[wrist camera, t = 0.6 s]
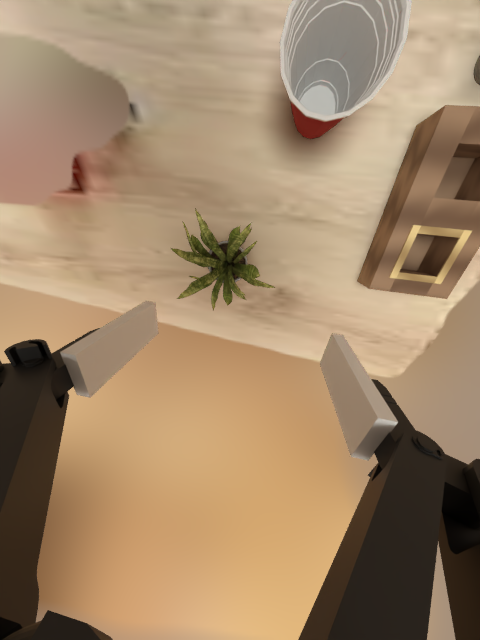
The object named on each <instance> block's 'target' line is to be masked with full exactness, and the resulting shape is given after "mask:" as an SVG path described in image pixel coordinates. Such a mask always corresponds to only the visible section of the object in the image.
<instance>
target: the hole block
mask: <svg viewBox="0 0 480 640" xmlns="http://www.w3.org/2000/svg"><path fill="white" fill-rule="evenodd" d="M479 247H480V107H477V106H453V105H445V106H444V107H442V108H441V109H440V110H438V111H437V112H435V113H434V114H433V115H431V116H430V117H428V118H427V119H425V120H424V121H423V122H421V123H420V124H418V125H417V126H416V129H415V131H414V134H413V137H412V139H411V142H410V145H409V147H408V150H407V152H406V155H405V158H404V160H403V163H402V165H401V168H400V171H399V173H398V176H397V179H396V181H395V184H394V186H393V189H392V192H391V194H390V197H389V200H388V202H387V205H386V207H385V210H384V213H383V215H382V218H381V221H380V223H379V226H378V228H377V231H376V234H375V236H374V239H373V241H372V244H371V247H370V249H369V252H368V255H367V257H366V260H365V262H364V265H363V268H362V270H361V273H360V276H359V278H358V282H360V283H361V284H363V285H364V286H366V287H367V288H369V289H376V290H383V291H391V292H399V293H406V294H414V295H421V296H429V297H437V298H444V299H447V298H448V296H449V295H450V293H451V292H452V290H453V288H454V287H455V285H456V284H457V282H458V280H459V279H460V277H461V276H462V274H463V272H464V271H465V269H466V268H467V266H468V264H469V263H470V261H471V260H472V258H473V257H474V255H475V253H476V252H477V250H478V249H479Z"/></svg>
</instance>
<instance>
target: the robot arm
mask: <svg viewBox="0 0 480 640" xmlns="http://www.w3.org/2000/svg"><path fill="white" fill-rule="evenodd" d="M157 334H158V324H157V313H156V303H155V302H150V301H145V302H143V303H142V304H140V305H138V306H137V307H135V308H133V309H132V310H130V311H128V312H126V313H125V314H123V315H121V316H120V317H118V318H116V319H115V320H113V321H111V322H110V323H108V324H106V325H105V326H103V327H101V328H98V329H95V330H93V331H90V332H89V333H87V334H85V335H83V336H82V337H80V338H78V339H76V340H75V341H73V342H71V343H69V344H67V345H66V346H64V347H62V348H61V349H59V350H57V351H56V352H54V353H52V354H51V352H50V350H49V347H48V345H47V343H46V341H44V340H39V339H38V340H37V339H36V340H28V341H23V342H20V343H17V344H14V345H12V346H11V347H9V348H7V349H6V350H5V351H4V352H5V354H6V355H7V357H8V359H9V360H10V362H11V363H9V364H2V363H1V361H0V640H112V638H111V637H110V636H108V635H106V634H105V633H103V632H101V631H99V630H98V629H96V628H94V627H92V626H91V625H89V624H87V623H84V622H81V621H78V620H75V619H72V618H69V617H66V616H63V615H60V614H57V613H54V612H51V611H49V610H48V611H47V613H46V614H45V616H44V618H43V619H42V621H39V622H37V623H35V622H36V616H37V610H38V601H39V588H38V582H37V565H38V559H39V554H40V548H41V543H42V537H43V532H44V526H45V522H46V516H47V511H48V505H49V500H50V495H51V490H52V484H53V479H54V474H55V468H56V463H57V458H58V452H59V447H60V442H61V436H62V431H63V426H64V420H65V415H66V410H67V404H68V399H69V394H68V392H67V391H68V390H70V389H71V388H72V387H73V386H74V389H75V391H76V394H77V395H81V396H85V397H91V396H92V395H94V394H95V393H96V392H97V391H98V390H99V389H100V388H101V387H102V386H103V385H104V384H105V383H106V382H107V381H108V380H109V379H111V377H113V376H114V375H115V373H117V372H118V371H119V370H120V369H121V368H122V367H123V366H124V365H125V364H126V363H127V362H128V361H130V360H131V359H132V358H133V357H134V356H135V355H136V354H137V353H138V352H139V351H140V350H141V349H142V348H143V347H144V346H145V345H146V344H148V343H149V342H150V341H151V340H152V339H153V338H154V337H155V336H156V335H157ZM320 365H321V369H322V372H323V375H324V378H325V380H326V383H327V386H328V389H329V392H330V395H331V398H332V401H333V404H334V407H335V410H336V413H337V416H338V419H339V422H340V425H341V428H342V431H343V434H344V437H345V440H346V443H347V446H348V449H349V452H350V455H351V457H355V458H360V459H364V460H369V459H370V457H371V456H372V455H373V454H374V453H375V455H376V457H377V460H378V464H377V465H376V466H375V467H374V468H373V470H372V471H371V472H370V473H369V474H368V476H369V477H370V479H369V482H368V484H367V486H366V488H365V491H364V493H363V495H362V497H361V500H360V502H359V504H358V506H357V509H356V511H355V513H354V515H353V518H352V520H351V522H350V524H349V527H348V529H347V531H346V533H345V536H344V538H343V540H342V542H341V545H340V547H339V549H338V551H337V554H336V556H335V558H334V560H333V563H332V565H331V567H330V569H329V572H328V574H327V576H326V578H325V581H324V583H323V585H322V587H321V590H320V592H319V595H318V597H317V599H316V601H315V603H314V606H313V608H312V610H311V612H310V614H309V617H308V619H307V621H306V624H305V626H304V628H303V630H302V633H301V635H300V637H299V640H427V633H428V624H429V615H430V607H431V597H432V589H433V580H434V571H435V563H436V554H437V545H438V541H439V547H440V553H441V558H442V564H443V570H444V576H445V581H446V586H447V593H448V598H449V604H450V610H451V615H452V621H453V627H454V632H455V638H456V640H480V459H476V460H474V461H472V462H471V463H470V464H469V465H468V464H466V463H464V462H461V461H459V460H457V459H455V458H453V457H450V456H448V455H446V454H445V453H444V452H443V450H442V449H441V448H440V447H439V446H438V444H437V443H436V442H435V441H433V440H432V439H431V438H429V437H428V436H426V435H425V434H423V433H421V432H419V431H416V430H415V429H414V427H413V426H412V425H411V423H410V422H409V420H408V419H407V417H406V416H405V415H404V413H403V411H402V410H401V409H400V407H399V406H398V405H397V403H396V401H395V400H394V399H393V398H392V396H391V394H390V393H389V391H388V390H387V388H386V387H384V386H383V385H382V384H381V383H380V382H379V381H378V380H373V379H371V378H370V377H369V375H368V374H367V372H366V370H365V369H364V367H363V366H362V364H361V363H360V361H359V359H358V358H357V356H356V355H355V353H354V352H353V350H352V348H351V347H350V345H349V344H348V342H347V340H346V339H345V337H344V336H343V335H340V334H334V333H332V334H331V337H330V339H329V342H328V344H327V347H326V349H325V352H324V354H323V357H322V359H321V362H320Z"/></svg>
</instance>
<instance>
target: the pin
mask: <svg viewBox="0 0 480 640" xmlns="http://www.w3.org/2000/svg"><path fill="white" fill-rule="evenodd" d="M474 78H475V81H476V82H477V83H478V84H480V56H479V58H478V60H477V62H476V65H475V69H474Z"/></svg>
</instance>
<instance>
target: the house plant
mask: <svg viewBox="0 0 480 640" xmlns="http://www.w3.org/2000/svg"><path fill="white" fill-rule="evenodd" d="M195 211H196V208H195ZM196 215H197V218H198V222H199V226H200V230H201V239H202V241H203V243H204V244H205V245H206V246H207V247H208V248H209V249H210V251H209V253H208V252H207V250H206V249H205V248H204V247H203V246H202V244H201V243H200V241H199V240H198V239H197V238H196V237H195V236H193V235H191V238H190V235H189V233H188V230H187V228H186V226H185V224H184V222H183V224H184V227H185V230H186V233H187V237H188V241H189V244H190V246H191V249H192V251H193V252H185V251H182V250H179V249H172V248H171V247H170V248H171V249H172V250H173V251H174V252H175V253H176V254H177V255H179V256H180V257H182V258H183V259H185V260H187V261H190V262H192V263H195V264H197V265H199V266H202V267H208V269H209V271H210V273H209V274H207V275H205V276H203V277H201V278H197V277H193V276H190V277H192V278H195V279H197V280H195V281H194V282H192V283H191V284H190V285H189V287H188V288H187V290H185V291H184V292H183V293H181V295H180V296H179V298H177V299H180V298H184V297H187V296H189V295H192V294H194V293H196V292H198V291H199V290H201V289H203V288H206V287H208V286H209V285H211V284H212V282H213V281H214V280H217V281H216V284H215V286H214V289H213V291H212V299H211V302H212V308H213V311H214V307H215V302H216V300H217V298H218V293H219V290H220V287H221V285H222V283H224V286H223V297H224V300H225V302H226V303H227V305H229V304H230V303H231V302H232V291H233V292H234V293H235V294H236V295H237V296H239V297H240V298H243V299H245V297H244V296H243V295H245V294H244V293H243V292H241V291H240V289H239V288H238V286H237V285H236V283H235V282H237V281H238V280H240V279H241V278H243V279H244V280H245V281H247V282H248V283H250V284H252V285H255V286H262V287H267V288H273V286H271V285H268V284H266V283H263V282H261V281H258V280H256V279H255V278H257V277H259V276H260V275H259V272H258V269H257V268H256V267H255V266H254V265H250V264H247V257H246V255H247V254H248V253H249V252H250V250H251V249H252V248H253V247H254V245H255V244H256V242H257V241H256V242H255V243H253V244H252V245H251V246H249V247H248V248H247V249H246V250H245V251H244V249H243V248H242V247H241V245H242V244H243V243H244V242H245V240H246V238H247V236H248V235H249V233H250V231H251V229H252V228H251V229H250V230H249V228H250V225H251V223H250V224H249V225H248V226H247V227H246V228H245V229H244V230H243V231H242V232H241V233H240V226H241V225H240V226H239V227H237V228H235V229H233V230H232V231H231V233H230V235H229V240H228V241H222V242H219V243H218V242H217V241H216V239H215V237H214V235H213V234H212V232H211V231H210V230H209V229H208V226H207V224H206V222H205V221H203V219H202V217H201V215H200V214H199V213H198V212H197V211H196ZM196 251H198V252H199V253H200V254H199V253H197V252H196ZM274 288H275V287H274ZM231 289H232V291H231ZM245 300H246V299H245Z"/></svg>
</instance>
